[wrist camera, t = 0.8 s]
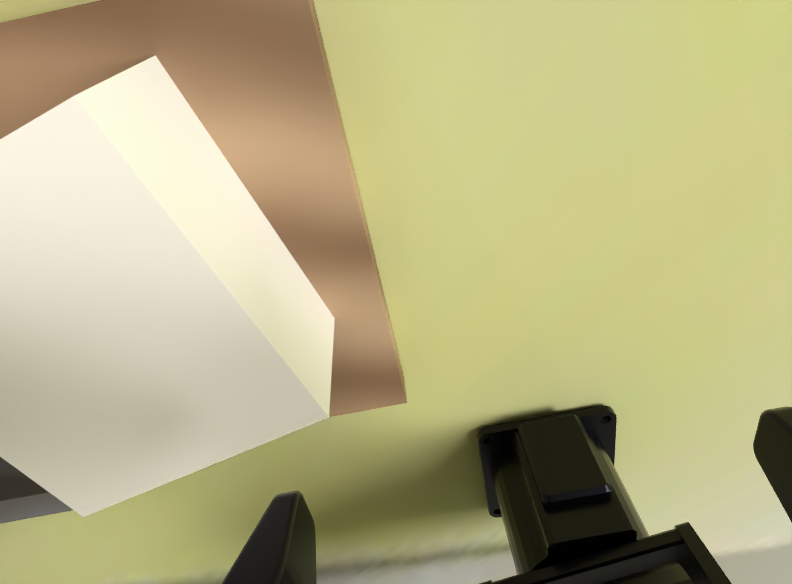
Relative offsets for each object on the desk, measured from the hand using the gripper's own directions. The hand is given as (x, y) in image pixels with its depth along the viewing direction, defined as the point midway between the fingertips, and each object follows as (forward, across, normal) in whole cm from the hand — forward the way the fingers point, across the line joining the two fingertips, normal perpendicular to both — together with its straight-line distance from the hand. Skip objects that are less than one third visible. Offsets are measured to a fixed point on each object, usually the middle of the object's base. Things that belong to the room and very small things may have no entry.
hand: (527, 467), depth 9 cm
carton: (+10, +10, 0) cm, 15 cm away
